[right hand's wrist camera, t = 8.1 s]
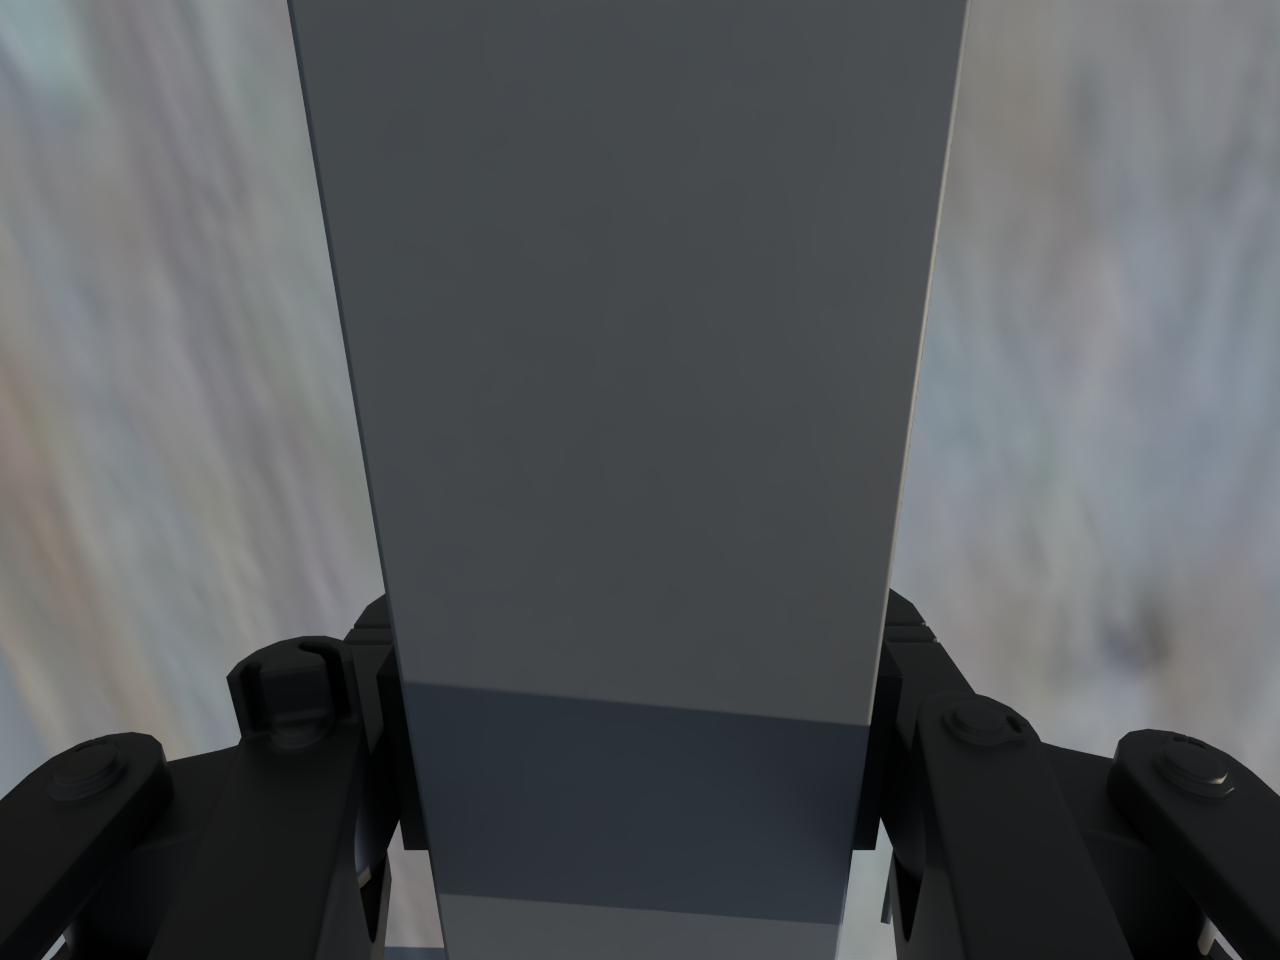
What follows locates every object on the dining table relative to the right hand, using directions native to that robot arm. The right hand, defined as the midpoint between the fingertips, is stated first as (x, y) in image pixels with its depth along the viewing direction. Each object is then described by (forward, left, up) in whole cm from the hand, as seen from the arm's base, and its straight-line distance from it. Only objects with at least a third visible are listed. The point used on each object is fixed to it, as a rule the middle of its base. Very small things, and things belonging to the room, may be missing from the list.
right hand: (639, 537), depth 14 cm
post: (+15, +26, -1) cm, 30 cm away
